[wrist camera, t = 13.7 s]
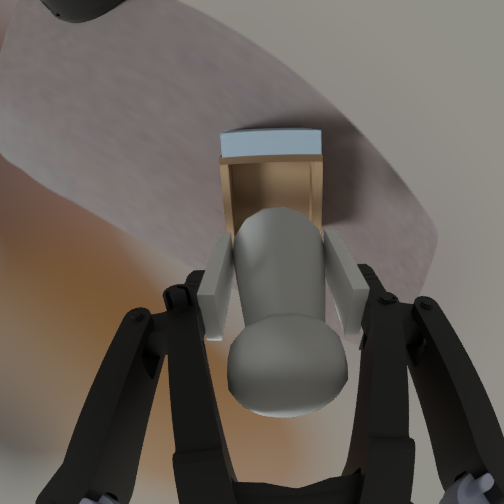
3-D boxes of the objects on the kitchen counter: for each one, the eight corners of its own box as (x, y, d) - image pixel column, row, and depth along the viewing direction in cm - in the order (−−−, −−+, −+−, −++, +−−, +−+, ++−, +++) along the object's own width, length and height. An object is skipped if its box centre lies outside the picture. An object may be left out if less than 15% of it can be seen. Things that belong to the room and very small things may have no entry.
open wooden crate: (226, 151, 28) (219, 157, 24) (313, 148, 28) (322, 153, 23) (233, 230, 33) (228, 249, 28) (312, 228, 32) (320, 246, 28)
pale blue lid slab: (231, 130, 27) (220, 133, 20) (305, 127, 27) (321, 130, 19) (232, 148, 28) (222, 157, 21) (306, 145, 27) (321, 154, 20)
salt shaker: (329, 214, 18) (410, 357, 7) (298, 279, 21) (323, 437, 9) (250, 185, 18) (224, 318, 6) (226, 257, 20) (188, 417, 9)
